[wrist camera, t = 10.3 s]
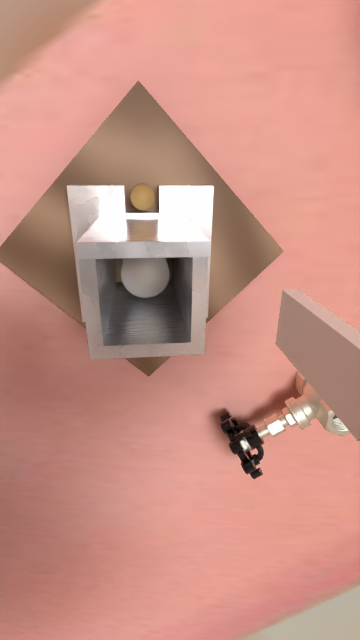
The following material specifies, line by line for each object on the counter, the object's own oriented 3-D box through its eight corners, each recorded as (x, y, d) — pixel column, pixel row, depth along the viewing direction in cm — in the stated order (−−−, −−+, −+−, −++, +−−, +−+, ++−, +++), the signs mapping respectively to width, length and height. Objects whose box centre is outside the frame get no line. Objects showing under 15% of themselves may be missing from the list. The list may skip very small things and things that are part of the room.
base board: (148, 367, 33) (150, 420, 26) (0, 251, 27) (-48, 279, 20) (276, 247, 29) (318, 271, 22) (138, 85, 24) (137, 50, 17)
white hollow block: (204, 310, 29) (238, 384, 19) (85, 314, 28) (55, 394, 18) (209, 185, 25) (255, 194, 15) (70, 184, 24) (21, 194, 14)
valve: (317, 343, 34) (213, 403, 35) (355, 381, 28) (228, 451, 29) (340, 388, 36) (242, 442, 38) (379, 432, 30) (261, 493, 32)
